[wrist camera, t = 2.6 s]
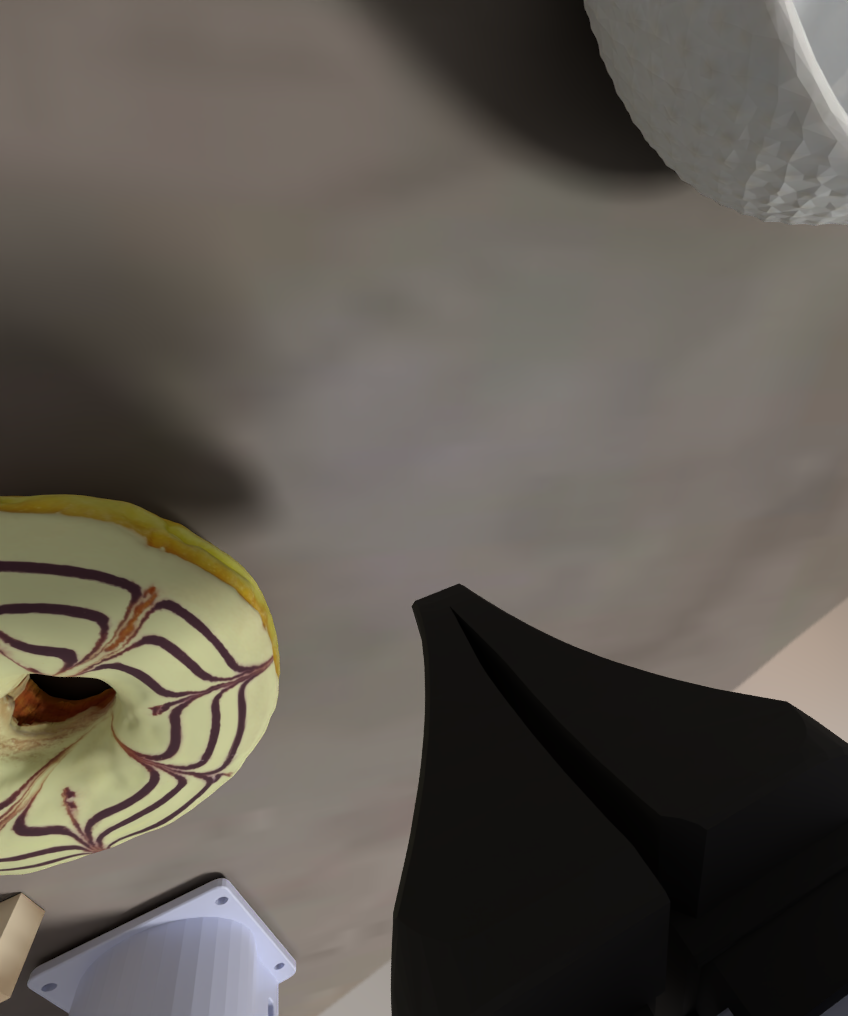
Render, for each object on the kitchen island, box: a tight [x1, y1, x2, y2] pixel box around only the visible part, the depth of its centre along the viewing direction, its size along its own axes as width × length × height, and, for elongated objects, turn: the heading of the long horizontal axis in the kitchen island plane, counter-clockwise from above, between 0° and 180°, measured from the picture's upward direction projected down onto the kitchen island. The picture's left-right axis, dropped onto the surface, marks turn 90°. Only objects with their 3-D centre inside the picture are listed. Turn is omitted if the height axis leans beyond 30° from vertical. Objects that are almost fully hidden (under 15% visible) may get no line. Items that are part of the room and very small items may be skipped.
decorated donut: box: [0, 494, 280, 875], centre depth 12 cm, size 11×12×4 cm
